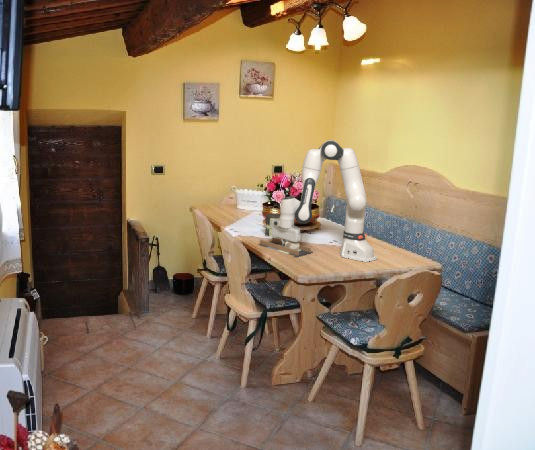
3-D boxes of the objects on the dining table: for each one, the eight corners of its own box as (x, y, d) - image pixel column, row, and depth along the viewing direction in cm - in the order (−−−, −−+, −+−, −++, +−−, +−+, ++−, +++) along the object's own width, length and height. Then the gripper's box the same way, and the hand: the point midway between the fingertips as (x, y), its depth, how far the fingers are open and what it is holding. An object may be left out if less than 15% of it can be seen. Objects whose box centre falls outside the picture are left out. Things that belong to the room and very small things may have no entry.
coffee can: (262, 235, 353) (263, 214, 350) (270, 233, 362) (271, 212, 358) (275, 238, 348) (277, 217, 345) (283, 235, 356) (284, 215, 353)
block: (298, 250, 319) (299, 243, 318) (292, 252, 315) (292, 244, 314) (291, 248, 323) (291, 241, 322) (284, 249, 319) (285, 242, 318)
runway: (312, 253, 319) (313, 247, 318) (295, 257, 308) (295, 251, 307) (275, 242, 339) (275, 236, 338) (257, 246, 327) (257, 240, 326)
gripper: (303, 226, 315) (301, 249, 318) (277, 219, 329) (276, 241, 332) (296, 227, 311) (294, 251, 314) (270, 221, 324) (269, 243, 327)
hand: (285, 246), depth 323 cm, fingers closed
